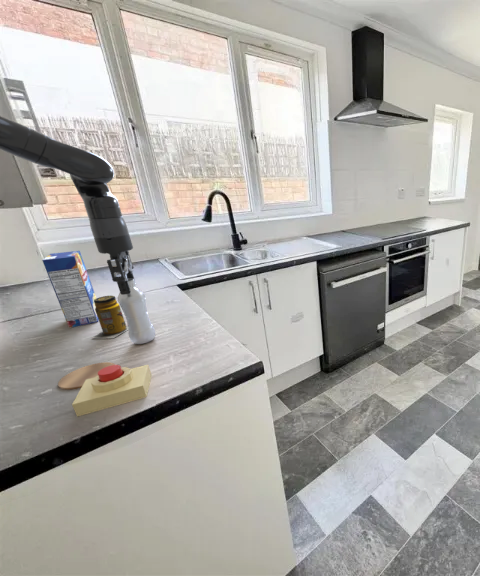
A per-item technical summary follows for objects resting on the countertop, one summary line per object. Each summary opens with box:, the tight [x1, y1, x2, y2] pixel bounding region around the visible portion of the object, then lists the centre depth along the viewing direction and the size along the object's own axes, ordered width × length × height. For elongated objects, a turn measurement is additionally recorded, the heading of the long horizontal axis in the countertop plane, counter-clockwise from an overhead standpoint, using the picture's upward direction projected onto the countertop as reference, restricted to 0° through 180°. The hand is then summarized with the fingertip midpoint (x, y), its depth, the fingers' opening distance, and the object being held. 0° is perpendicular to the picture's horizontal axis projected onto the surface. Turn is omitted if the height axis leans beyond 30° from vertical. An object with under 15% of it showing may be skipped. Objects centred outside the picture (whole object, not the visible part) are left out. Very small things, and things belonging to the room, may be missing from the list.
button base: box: [71, 364, 153, 417], centre depth 71 cm, size 12×10×5 cm
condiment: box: [91, 295, 129, 340], centre depth 100 cm, size 7×8×12 cm
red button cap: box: [98, 364, 123, 382], centre depth 70 cm, size 4×4×2 cm
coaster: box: [57, 361, 116, 391], centre depth 79 cm, size 11×11×1 cm
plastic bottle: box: [117, 278, 157, 345], centre depth 93 cm, size 6×7×20 cm
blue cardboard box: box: [41, 250, 99, 329], centre depth 108 cm, size 12×8×24 cm, turn 37°
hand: (128, 289), depth 90 cm, fingers open, 8 cm apart
